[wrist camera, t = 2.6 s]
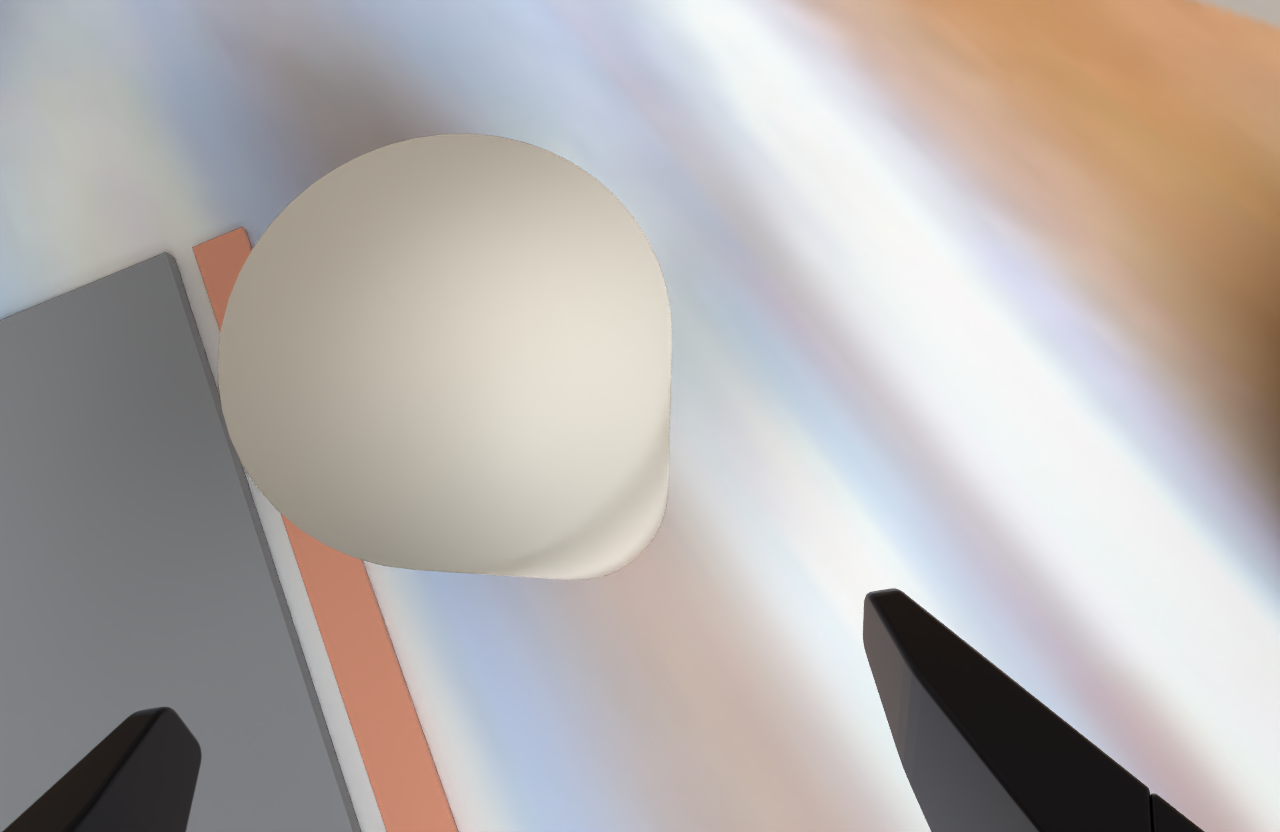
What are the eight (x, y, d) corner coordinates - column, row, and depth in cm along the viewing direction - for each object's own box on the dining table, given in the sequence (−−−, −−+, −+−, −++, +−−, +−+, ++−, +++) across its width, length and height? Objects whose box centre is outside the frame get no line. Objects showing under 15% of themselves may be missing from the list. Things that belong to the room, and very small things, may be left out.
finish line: (196, 250, 23) (192, 247, 23) (245, 229, 23) (241, 226, 23) (449, 1009, 18) (447, 1013, 18) (510, 979, 18) (508, 983, 18)
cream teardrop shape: (697, 447, 21) (747, 235, 8) (618, 612, 20) (538, 656, 7) (541, 374, 22) (364, 72, 9) (457, 530, 21) (128, 442, 8)
